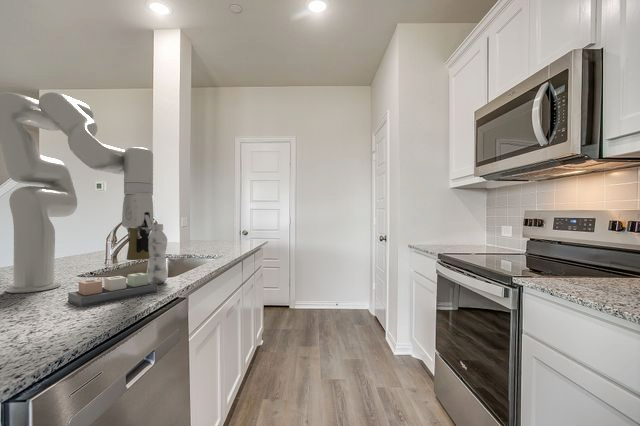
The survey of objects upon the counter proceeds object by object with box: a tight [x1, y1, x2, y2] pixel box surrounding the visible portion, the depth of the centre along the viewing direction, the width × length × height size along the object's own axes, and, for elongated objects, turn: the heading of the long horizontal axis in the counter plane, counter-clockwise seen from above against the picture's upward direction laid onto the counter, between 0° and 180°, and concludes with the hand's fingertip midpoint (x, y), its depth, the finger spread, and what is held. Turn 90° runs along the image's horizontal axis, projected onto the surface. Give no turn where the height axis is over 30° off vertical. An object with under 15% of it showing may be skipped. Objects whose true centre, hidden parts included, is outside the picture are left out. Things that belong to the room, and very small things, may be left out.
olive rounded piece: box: [126, 226, 150, 261], centre depth 94 cm, size 6×6×11 cm
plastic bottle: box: [145, 223, 168, 285], centre depth 106 cm, size 6×7×20 cm
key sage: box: [126, 272, 148, 287], centre depth 94 cm, size 4×4×3 cm
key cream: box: [103, 275, 127, 291], centre depth 89 cm, size 4×4×3 cm
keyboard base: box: [67, 282, 158, 309], centre depth 89 cm, size 9×19×2 cm, turn 145°
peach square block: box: [78, 278, 103, 295], centre depth 84 cm, size 4×4×3 cm
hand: (138, 250), depth 94 cm, fingers closed on olive rounded piece, 4 cm apart
